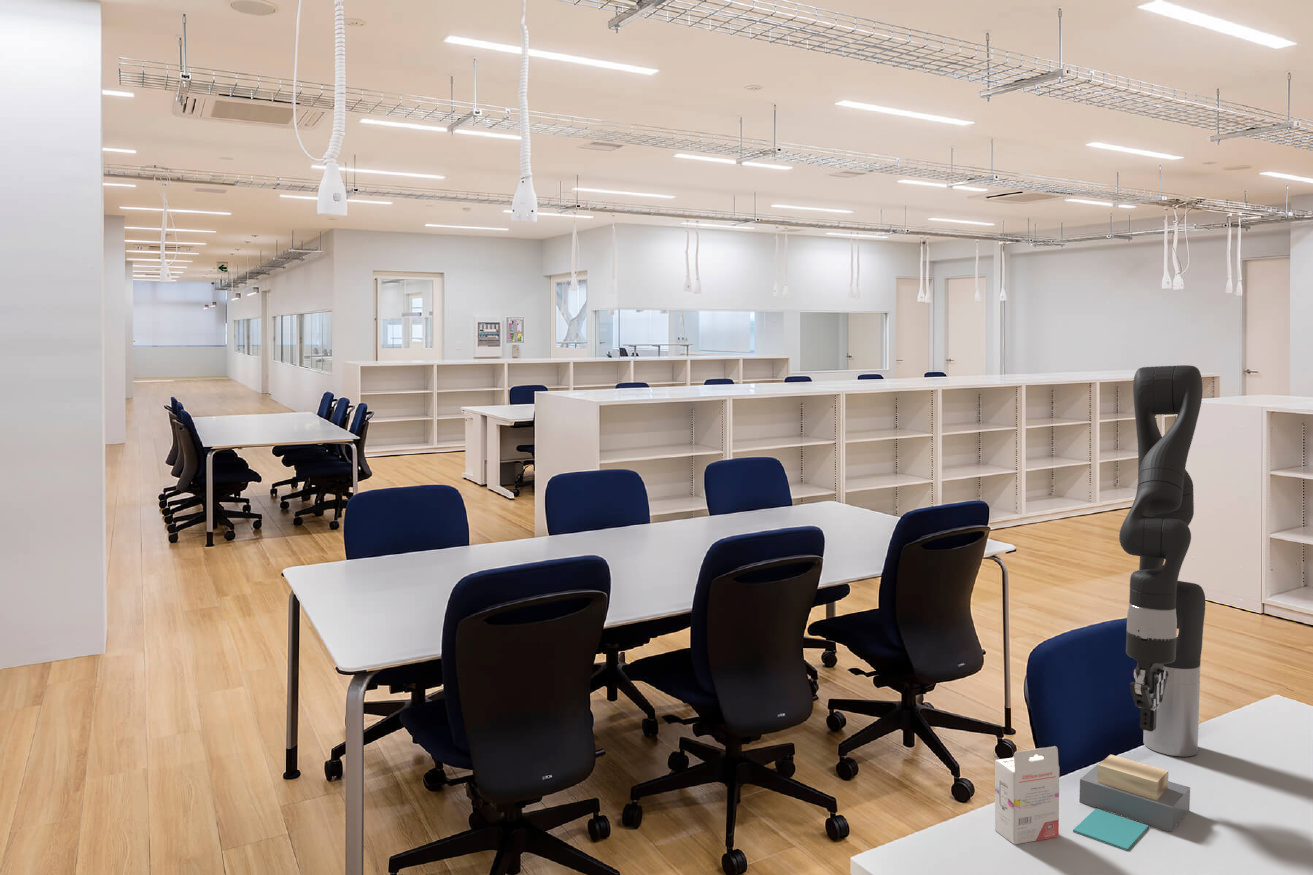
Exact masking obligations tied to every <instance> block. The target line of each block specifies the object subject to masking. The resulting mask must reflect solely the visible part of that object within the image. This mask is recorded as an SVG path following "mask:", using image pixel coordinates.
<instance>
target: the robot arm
mask: <svg viewBox="0 0 1313 875" xmlns="http://www.w3.org/2000/svg"><path fill="white" fill-rule="evenodd" d="M1132 385H1133V387H1132V394H1133V408H1134V417H1135V425H1136V426H1135V427H1136V438H1137V440H1136V441H1137V452H1138V453H1137V455H1138V458H1137V459H1138V461H1137V463H1138V464H1137V466H1138V467H1137V471H1138V472H1137V488H1136V495H1135V498H1134V501H1133V503H1132V505H1131V508H1130V510H1129V512H1128V513H1127V515H1126V517H1125V519H1124V521H1123V523H1122V525H1121V527H1120V530H1119V535H1118V536H1119V538H1118V540H1119V544H1120V546H1121V548H1122V550H1124V552H1125V553H1126V554H1129V555H1130V556H1135V557H1136V556H1137V557H1139V564H1138V565H1139V567H1138V570H1134V571H1133V572H1132V573H1131V575H1130V579H1129V602H1128V609H1127V610H1128V611H1127V616H1126V640H1125V643H1126V644H1125V654H1126V655H1127V656H1128V657H1129V658H1130V659H1134V660H1135V661H1136V663H1137V664H1136V667H1135V668H1134V669H1133V678H1134V680H1135V681H1130V683H1129V689H1130V693H1131V696H1132V700H1133V702H1134V706H1135V707H1136V708H1139V729H1141V730H1142V731H1143V732H1142V733H1143V734H1142V735H1143V741H1142V742H1143V744H1144V746H1146V747H1147V748H1149V749H1150V750H1152V751H1155V752H1157V753H1159V754H1164V755H1168V756H1172V757H1192V756H1195V755H1197V754H1198V748H1199V747H1198V745H1199V724H1200V723H1199V720H1200V696H1201V694H1200V692H1201V690H1200V689H1201V688H1200V687H1201V679H1200V678H1201V658H1202V650H1203V649H1202V648H1203V635H1204V623H1205V615H1206V594H1205V591H1204V589H1203V587H1202V586H1201V585H1200V584H1197V583H1195V582H1188V581H1182V580H1179V576H1180V571H1181V569H1182V566H1183V563H1184V560H1185V558H1186V556H1187V553H1188V551H1189V548H1190V545H1191V541H1192V531H1191V529H1190V527H1189V526H1190V525H1191V522H1192V520H1193V517H1194V513H1195V512H1194V510H1195V509H1194V508H1195V505H1194V504H1195V503H1194V497H1195V496H1194V483H1193V479H1192V477H1191V475H1190V473H1189V472H1188V471H1187V469H1186V468H1187V467H1186V465H1187V461H1188V456H1189V452H1190V449H1191V445H1192V442H1193V438H1194V435H1195V431H1196V427H1197V424H1198V419H1199V415H1200V410H1201V407H1202V401H1203V388H1204V386H1203V378H1202V375H1201V372H1200V370H1199V368H1198V367H1196V366H1194V365H1186V364H1185V365H1184V364H1183V365H1161V366H1160V365H1159V366H1143V367H1139V368H1138V369H1137V370H1136V371H1135V374H1134V377H1133V384H1132ZM1157 415H1161V416H1163V415H1164V416H1165V415H1171V416H1172V415H1176V418H1175V419H1174V422H1173V423H1172V425H1171V426H1170V427H1169V429H1168V430H1167V431H1166V433H1165V434H1164V435H1162V434H1161V431H1160V429H1159V426H1158V423H1157V418H1156V416H1157ZM1177 632H1178V634H1177Z"/></svg>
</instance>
